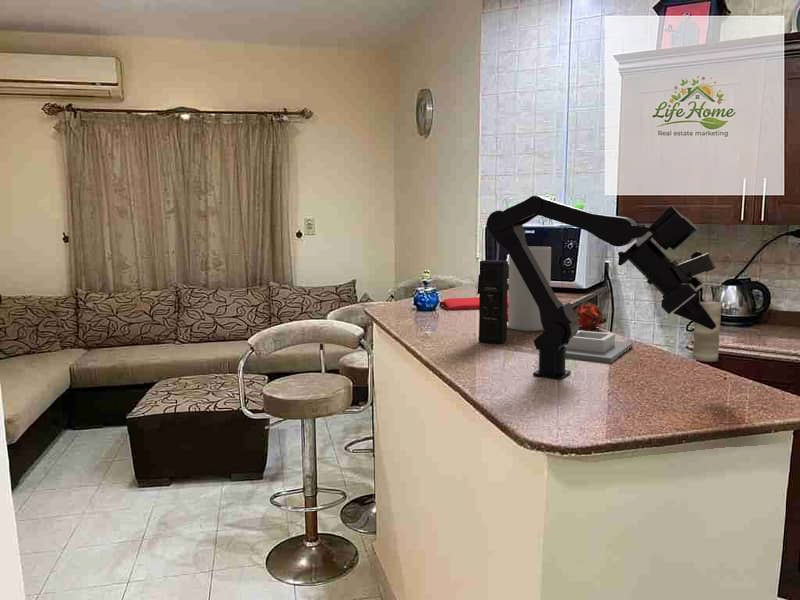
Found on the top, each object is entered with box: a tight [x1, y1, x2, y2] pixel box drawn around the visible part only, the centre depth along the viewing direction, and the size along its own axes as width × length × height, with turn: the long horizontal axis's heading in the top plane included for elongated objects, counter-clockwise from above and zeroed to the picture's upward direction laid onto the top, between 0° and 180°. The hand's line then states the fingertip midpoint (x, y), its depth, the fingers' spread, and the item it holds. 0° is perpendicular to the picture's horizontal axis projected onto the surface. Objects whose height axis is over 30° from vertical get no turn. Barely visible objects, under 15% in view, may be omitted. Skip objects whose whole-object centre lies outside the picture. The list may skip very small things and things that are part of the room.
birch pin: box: [692, 300, 722, 362], centre depth 117 cm, size 4×4×11 cm
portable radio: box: [477, 251, 509, 345], centre depth 168 cm, size 8×6×25 cm
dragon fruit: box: [574, 302, 607, 331], centre depth 186 cm, size 8×8×12 cm
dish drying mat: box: [439, 295, 509, 311], centre depth 235 cm, size 16×41×4 cm, turn 99°
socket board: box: [565, 329, 634, 364], centre depth 156 cm, size 20×16×4 cm
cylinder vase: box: [507, 245, 552, 332], centre depth 187 cm, size 12×12×25 cm
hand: (715, 325), depth 116 cm, fingers closed on birch pin, 4 cm apart
